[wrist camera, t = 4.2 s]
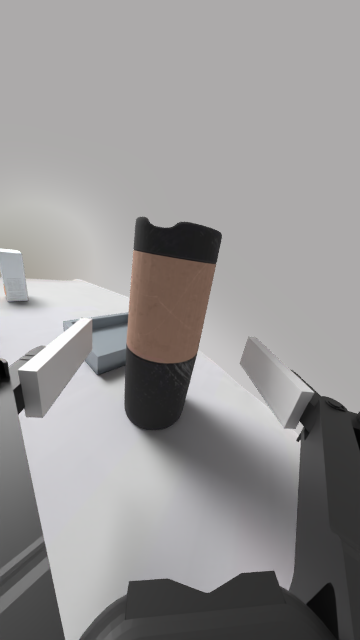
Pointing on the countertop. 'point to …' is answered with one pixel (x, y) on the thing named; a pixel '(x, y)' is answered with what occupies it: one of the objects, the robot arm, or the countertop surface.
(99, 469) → the countertop surface
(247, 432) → the countertop surface
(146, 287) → the travel mug
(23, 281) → the skincare box
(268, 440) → the countertop surface
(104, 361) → the tray
